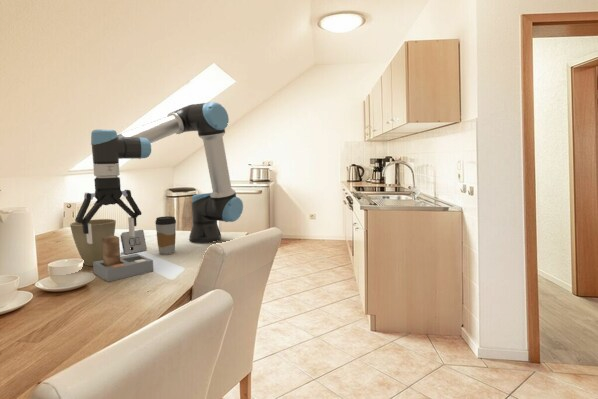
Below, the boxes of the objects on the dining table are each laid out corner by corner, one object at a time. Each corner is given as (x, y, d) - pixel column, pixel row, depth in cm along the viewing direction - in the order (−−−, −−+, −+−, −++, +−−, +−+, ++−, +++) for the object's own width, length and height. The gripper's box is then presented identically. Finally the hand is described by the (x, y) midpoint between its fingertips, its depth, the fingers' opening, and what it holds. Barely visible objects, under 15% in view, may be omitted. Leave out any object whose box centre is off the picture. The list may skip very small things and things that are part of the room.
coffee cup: (181, 251, 154) (180, 216, 152) (168, 255, 146) (167, 219, 144) (165, 249, 157) (164, 215, 155) (151, 254, 149) (150, 218, 147)
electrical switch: (125, 255, 147) (123, 232, 147) (120, 254, 151) (117, 232, 150) (147, 250, 155) (145, 229, 154) (141, 250, 158) (139, 229, 158)
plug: (116, 269, 125) (114, 235, 123) (120, 271, 122) (119, 237, 121) (103, 271, 122) (101, 237, 120) (108, 274, 119) (106, 239, 118)
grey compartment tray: (137, 264, 135) (136, 252, 134) (153, 271, 126) (152, 259, 125) (93, 273, 123) (92, 261, 123) (108, 281, 115) (107, 268, 114)
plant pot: (124, 257, 143) (122, 218, 141) (106, 269, 128) (103, 225, 127) (86, 258, 143) (84, 218, 141) (63, 269, 128) (60, 225, 126)
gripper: (67, 179, 107) (73, 248, 109) (149, 175, 125) (152, 234, 128) (60, 178, 112) (66, 244, 114) (139, 174, 130) (143, 231, 133)
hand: (111, 239), depth 121 cm, fingers open, 13 cm apart
